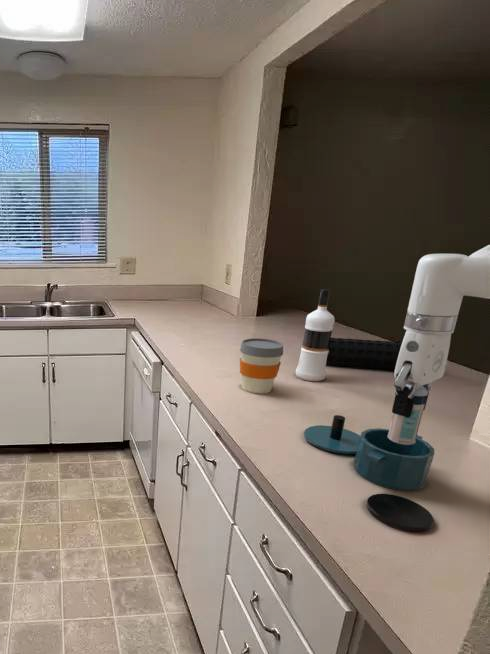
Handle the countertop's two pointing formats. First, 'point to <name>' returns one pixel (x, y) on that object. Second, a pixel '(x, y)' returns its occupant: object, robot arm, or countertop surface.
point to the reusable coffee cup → (259, 364)
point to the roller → (363, 353)
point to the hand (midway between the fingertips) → (408, 410)
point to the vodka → (316, 342)
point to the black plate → (400, 512)
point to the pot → (393, 461)
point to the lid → (333, 437)
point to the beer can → (408, 420)
